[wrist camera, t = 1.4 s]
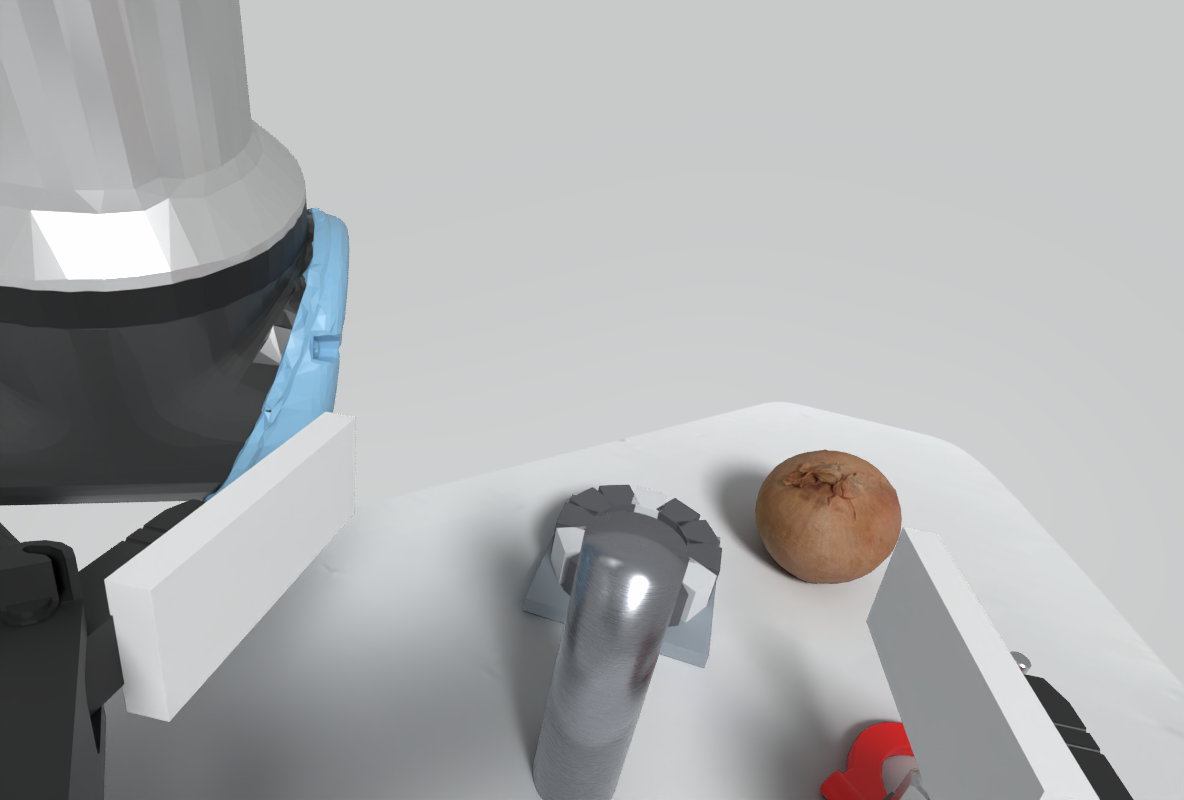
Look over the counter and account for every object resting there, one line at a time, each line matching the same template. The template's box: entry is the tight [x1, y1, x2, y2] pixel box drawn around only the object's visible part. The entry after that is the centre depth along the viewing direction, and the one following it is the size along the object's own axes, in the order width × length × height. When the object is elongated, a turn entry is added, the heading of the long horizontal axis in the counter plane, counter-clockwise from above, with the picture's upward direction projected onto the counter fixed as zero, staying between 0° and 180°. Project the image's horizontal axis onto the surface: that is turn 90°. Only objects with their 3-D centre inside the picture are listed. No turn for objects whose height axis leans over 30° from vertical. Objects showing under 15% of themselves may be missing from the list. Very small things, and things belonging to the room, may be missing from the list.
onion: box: [755, 450, 902, 584], centre depth 46 cm, size 10×9×10 cm
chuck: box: [523, 485, 722, 668], centre depth 43 cm, size 11×11×4 cm
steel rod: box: [533, 511, 689, 800], centre depth 28 cm, size 4×4×14 cm
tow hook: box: [820, 651, 1031, 800], centre depth 30 cm, size 8×13×9 cm
